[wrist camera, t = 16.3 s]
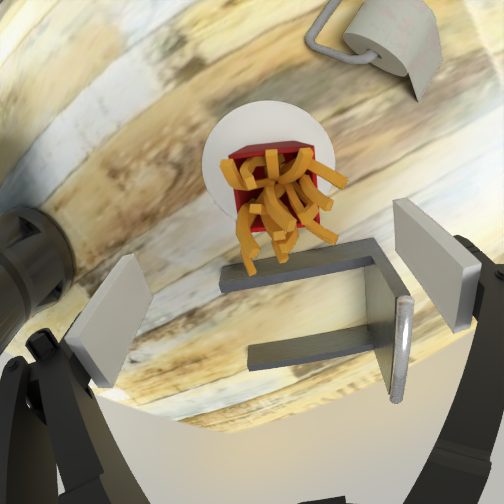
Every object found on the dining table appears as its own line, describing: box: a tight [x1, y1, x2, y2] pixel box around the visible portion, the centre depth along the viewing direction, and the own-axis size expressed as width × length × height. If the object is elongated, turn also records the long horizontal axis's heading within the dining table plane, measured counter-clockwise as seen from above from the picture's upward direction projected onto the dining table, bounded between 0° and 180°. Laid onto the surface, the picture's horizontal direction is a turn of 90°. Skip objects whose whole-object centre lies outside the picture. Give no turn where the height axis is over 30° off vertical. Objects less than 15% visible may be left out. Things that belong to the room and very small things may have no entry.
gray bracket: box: [219, 238, 414, 404], centre depth 35 cm, size 19×14×14 cm
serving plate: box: [202, 101, 335, 220], centre depth 33 cm, size 14×14×1 cm
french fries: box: [219, 140, 348, 276], centre depth 27 cm, size 9×8×15 cm
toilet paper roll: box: [305, 0, 443, 102], centre depth 25 cm, size 10×11×12 cm
